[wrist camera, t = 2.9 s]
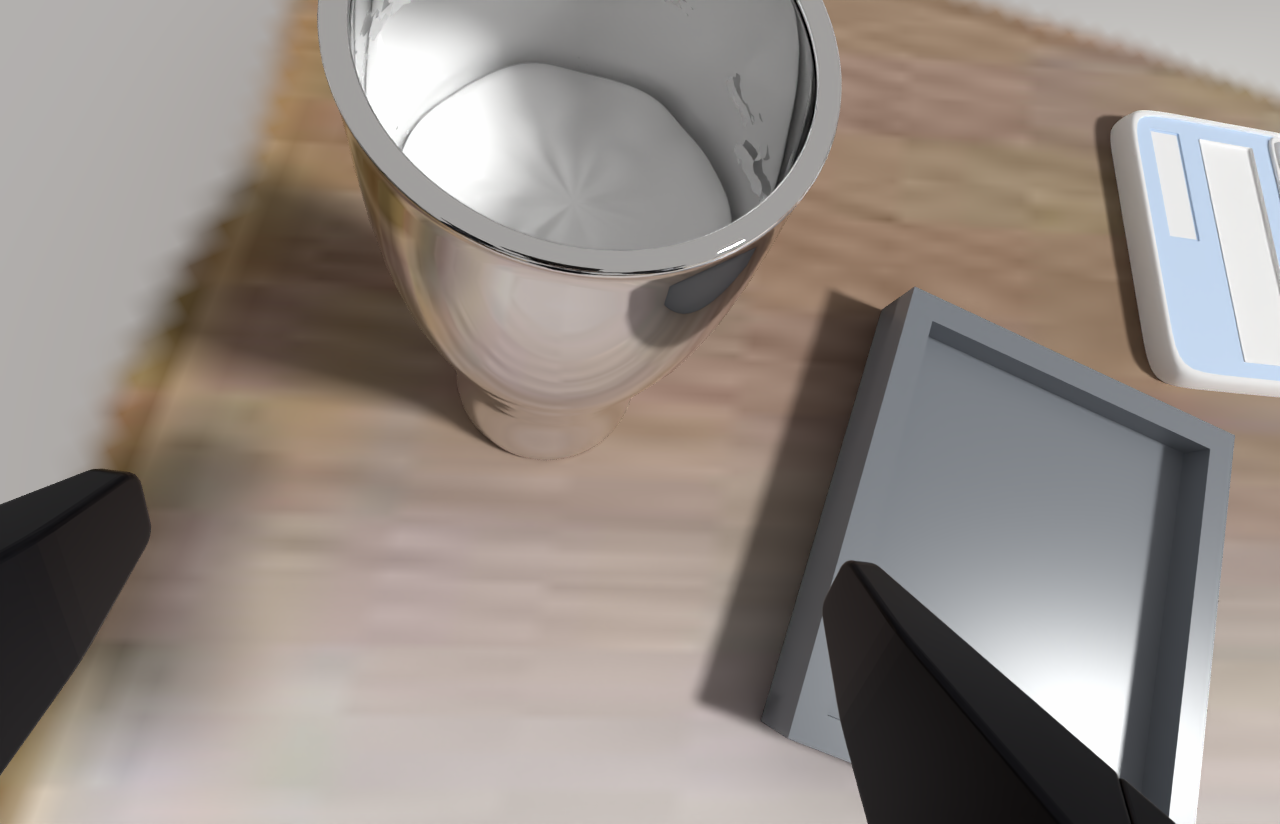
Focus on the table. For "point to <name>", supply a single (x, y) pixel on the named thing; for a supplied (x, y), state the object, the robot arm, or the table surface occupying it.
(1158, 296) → the calculator
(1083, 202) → the table surface
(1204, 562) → the grey tray
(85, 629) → the robot arm
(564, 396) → the silver metal cup
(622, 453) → the table surface
